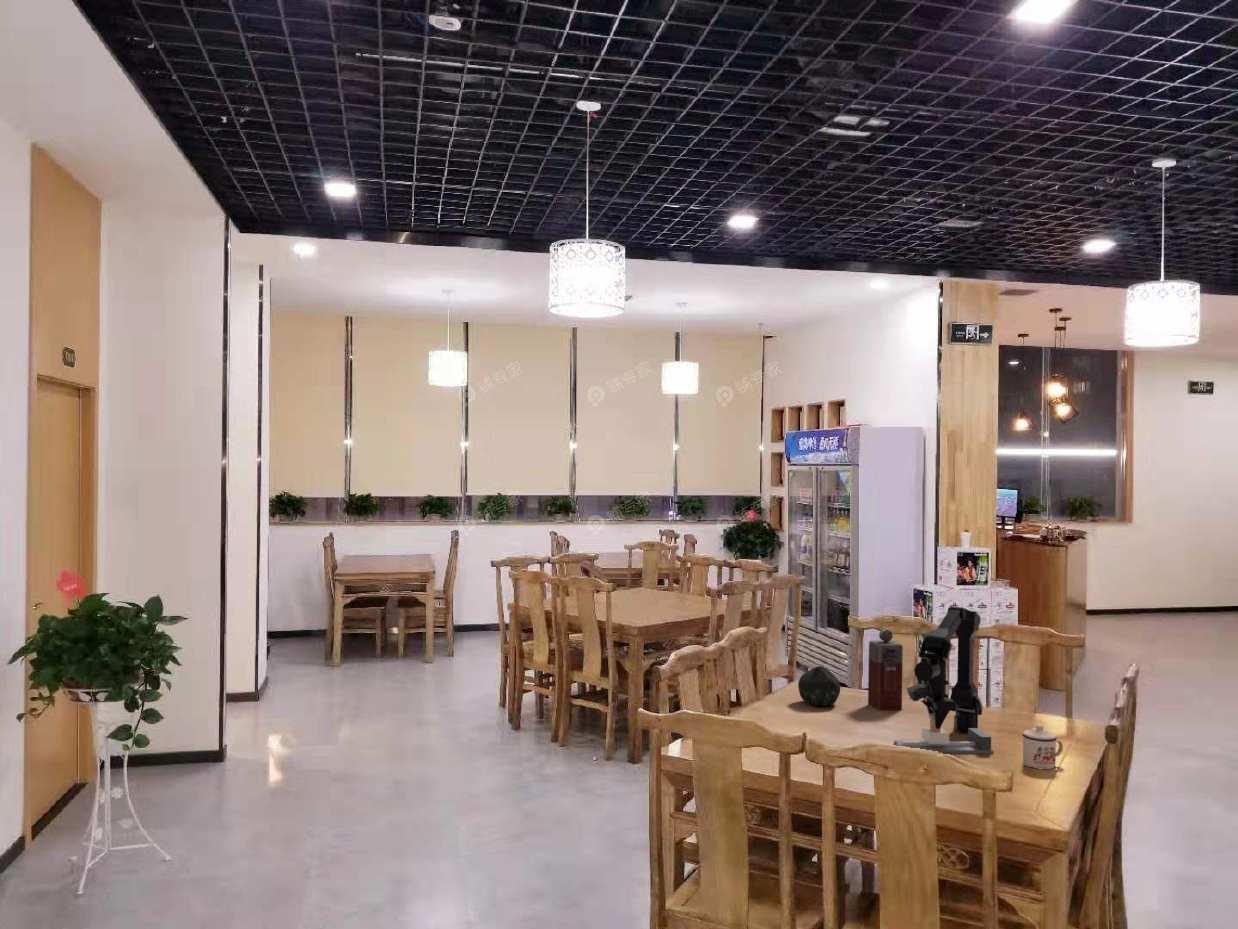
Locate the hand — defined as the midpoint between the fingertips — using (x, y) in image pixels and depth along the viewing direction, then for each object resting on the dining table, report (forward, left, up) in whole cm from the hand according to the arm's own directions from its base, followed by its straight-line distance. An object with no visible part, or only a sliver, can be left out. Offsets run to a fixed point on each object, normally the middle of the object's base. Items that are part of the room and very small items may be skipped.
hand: (935, 727), depth 290 cm
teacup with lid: (-26, +16, -7) cm, 31 cm away
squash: (+22, -55, -7) cm, 60 cm away
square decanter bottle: (-1, -50, -7) cm, 50 cm away
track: (-2, 0, -6) cm, 7 cm away
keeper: (0, 0, -4) cm, 4 cm away
